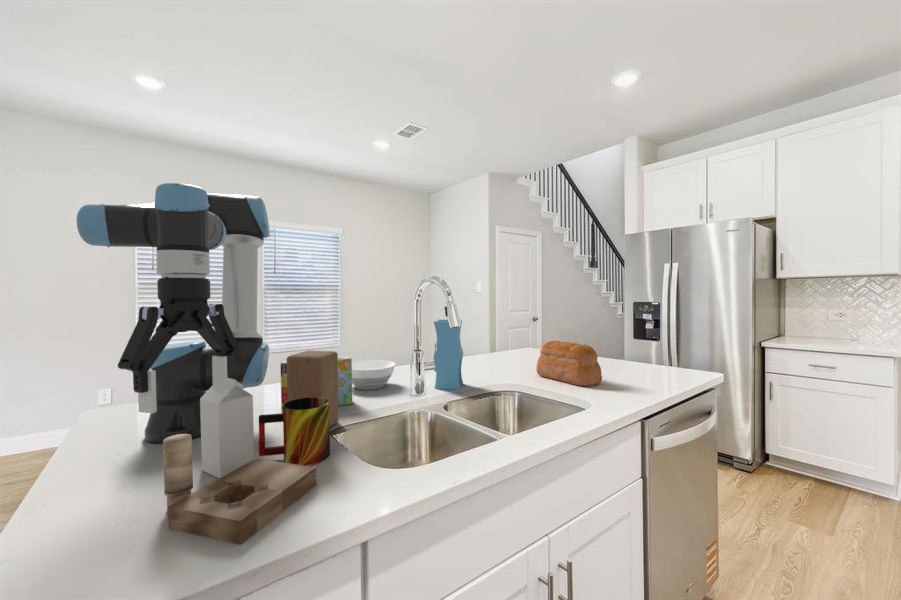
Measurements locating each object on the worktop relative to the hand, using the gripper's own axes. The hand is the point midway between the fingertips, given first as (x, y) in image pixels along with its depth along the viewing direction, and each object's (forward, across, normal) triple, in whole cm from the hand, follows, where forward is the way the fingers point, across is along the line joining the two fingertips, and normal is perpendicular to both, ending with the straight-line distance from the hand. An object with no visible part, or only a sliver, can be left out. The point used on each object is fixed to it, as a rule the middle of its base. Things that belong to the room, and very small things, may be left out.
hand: (187, 400), depth 68 cm
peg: (+18, -1, +1) cm, 18 cm away
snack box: (+18, +56, +13) cm, 60 cm away
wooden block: (+18, +39, +2) cm, 43 cm away
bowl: (+18, +83, +8) cm, 85 cm away
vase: (+18, +90, -21) cm, 94 cm away
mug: (+18, +20, -6) cm, 28 cm away
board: (+18, +2, -10) cm, 21 cm away
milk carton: (+18, +13, +5) cm, 23 cm away
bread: (+18, +113, -64) cm, 132 cm away
